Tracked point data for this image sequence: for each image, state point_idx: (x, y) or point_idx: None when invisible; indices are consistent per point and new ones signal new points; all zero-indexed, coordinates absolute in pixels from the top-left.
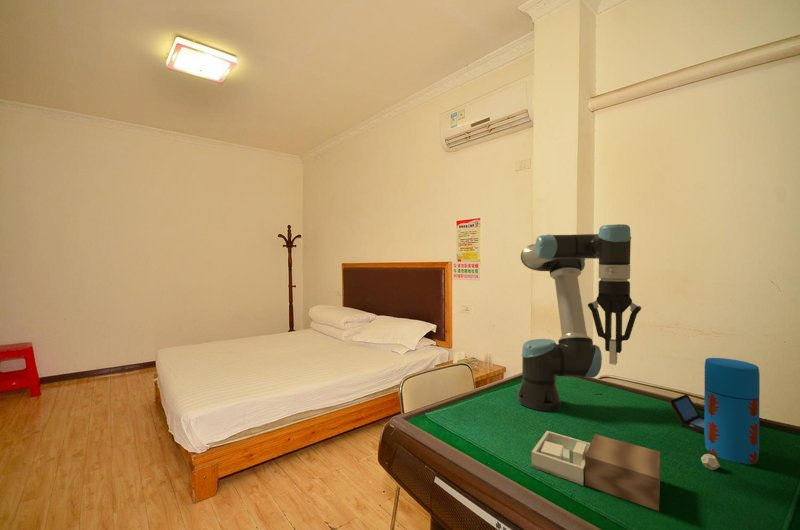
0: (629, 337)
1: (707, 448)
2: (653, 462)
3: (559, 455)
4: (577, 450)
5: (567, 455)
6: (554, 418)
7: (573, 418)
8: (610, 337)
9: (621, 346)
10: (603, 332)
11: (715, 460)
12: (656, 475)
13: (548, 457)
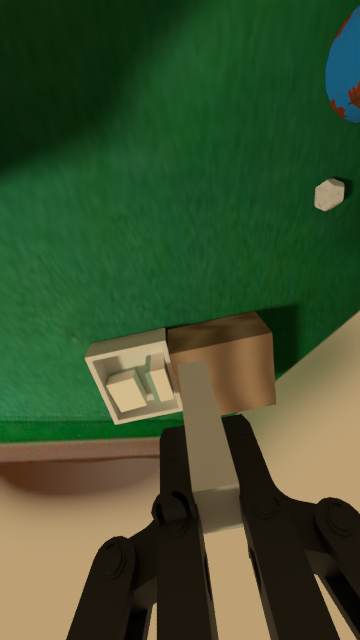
0: (356, 521)
1: (329, 93)
2: (266, 372)
3: (145, 404)
4: (164, 395)
5: (137, 358)
6: (18, 223)
7: (42, 180)
8: (203, 544)
9: (259, 455)
10: (136, 590)
11: (341, 201)
12: (273, 400)
13: (139, 419)
